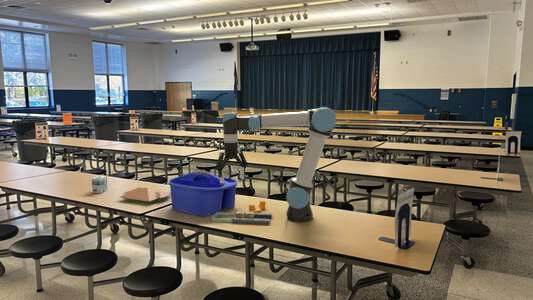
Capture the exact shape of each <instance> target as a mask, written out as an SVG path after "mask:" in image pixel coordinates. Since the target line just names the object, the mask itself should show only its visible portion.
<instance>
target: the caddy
mask: <svg viewBox="0 0 533 300" xmlns="http://www.w3.org/2000/svg"><path fill="white" fill-rule="evenodd" d="M168 185H169V187H170V189H169V190H170V192H171V195H170V201H171V209H173V210H174V211H176V212H180V213H184V214H190V215H195V216H200V217H208V216H209V215H214V214H215V213H216V212H222V208H224V209H235V205H236V204H235V203H236V191H237V190H236V189H237V186H238V181H237V180H235V179H234V178H230V177H224V183H220V177H219V176H217V175H216V174H213V173H211V172H209V171H205V170H196V171H192V172H189V173H185V174H183V175H179V176H177V177H173V178H171V179H169V180H168Z"/></svg>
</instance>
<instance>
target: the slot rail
mask: <svg viewBox="0 0 533 300" xmlns="http://www.w3.org/2000/svg"><path fill="white" fill-rule="evenodd" d="M246 212H247V211H245V218H237V212H235V213H236V216H235V217H233V218H231V219H232V222H231V223H232V224H247V225H264V226H265V225H270V224H271V221H272V219H273V213H271V212H259V213H254V218H246Z"/></svg>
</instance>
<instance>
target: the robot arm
mask: <svg viewBox="0 0 533 300" xmlns="http://www.w3.org/2000/svg"><path fill="white" fill-rule="evenodd" d="M336 123H337V117H336V114H335V111H334V110H333V109H331V108H330V107H327V106H320V107H318V108H312V109H308V110H306V111H295V112H292V111H291V112H280V113H262V114H250V115H245V116H241V115H240V116H238V114H237V112H224V113H223V114H222V130H223V131H222V133H223V149H224V151H220V152H219V154H218V159H217V162H216V164H215V167H214V170H215V171H217V172H218V177H220V183H224V178H225V174H224V169H225V166H226V165H227V163H228V162H229V161H231V160H236V162H237V163H238V164H239V178H240V180H245V173H246V170H245V169H246V167H247V166H248V161H247V160H246V157H245V155H244V152H243V149H239V143H238V141H239V137H238V134H239V133H238V131H239V132H240V131H259V130H260V129H264V128H265V129H266V128H283V127H284V128H286V127H287V128H288V127H302V126H308V132H309V136H308V139H307V142H306V145H305V147H304V151H303V155H302V157H301V161H300V164H299V166H298V170H297V173H296V175H295V177H291V178H289V182H288V183H289V188H288V191H287V192H286V196H285V198H286V202H287V204H288V207H287V210H286V215H285V216H286V217H287V220H289V221H293V222H301V223H302V222H308V221H311V220H313V218H314V214H313V210H312V206H311V194H312V191H313V188H314V184H313V182H312V181H313V178H314V175H315V173H316V170H317V168H318V167H317V166H318V164H319V161H320V158H321V156H322V152H323V150H324V146H325V144H326V141H327V139H328V138H331V135H332V133H333V129H334V127H335V126H336Z"/></svg>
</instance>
